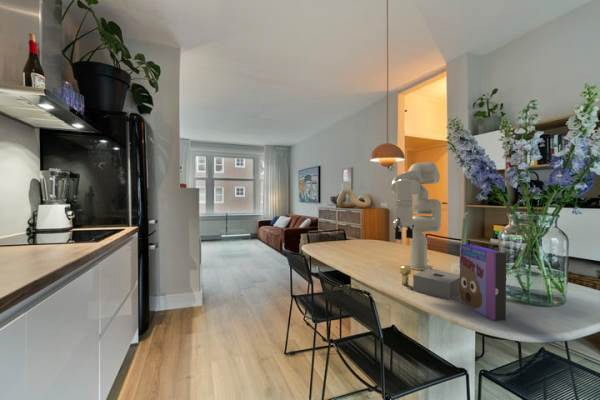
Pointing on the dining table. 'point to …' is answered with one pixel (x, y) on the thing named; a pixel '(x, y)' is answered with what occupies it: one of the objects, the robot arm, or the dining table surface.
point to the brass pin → (405, 274)
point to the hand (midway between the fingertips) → (403, 238)
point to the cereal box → (483, 281)
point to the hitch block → (437, 283)
